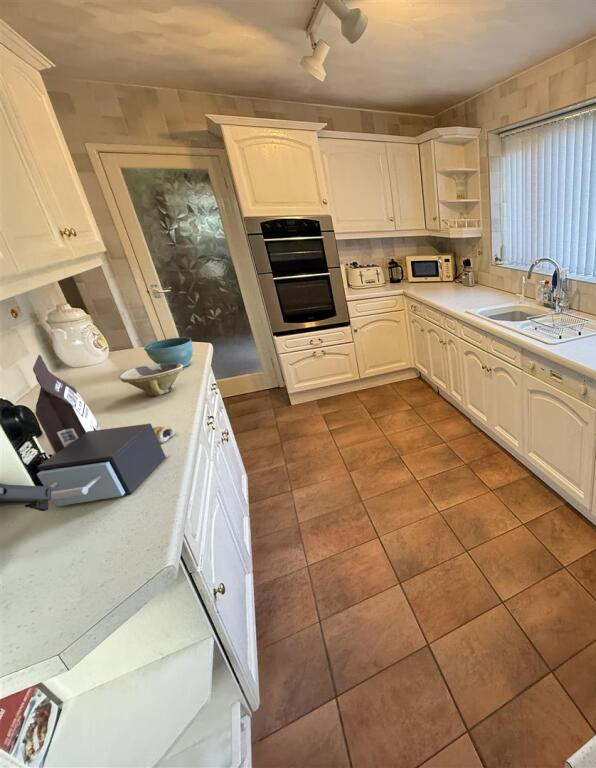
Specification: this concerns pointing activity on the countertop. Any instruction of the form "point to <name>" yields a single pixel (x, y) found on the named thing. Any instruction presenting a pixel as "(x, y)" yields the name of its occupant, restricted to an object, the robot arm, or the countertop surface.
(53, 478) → the light blue drawer
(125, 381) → the bowl
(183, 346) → the teal blue bowl
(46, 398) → the protein powder
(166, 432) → the pastry
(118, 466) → the drawer cabinet
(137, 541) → the countertop surface
